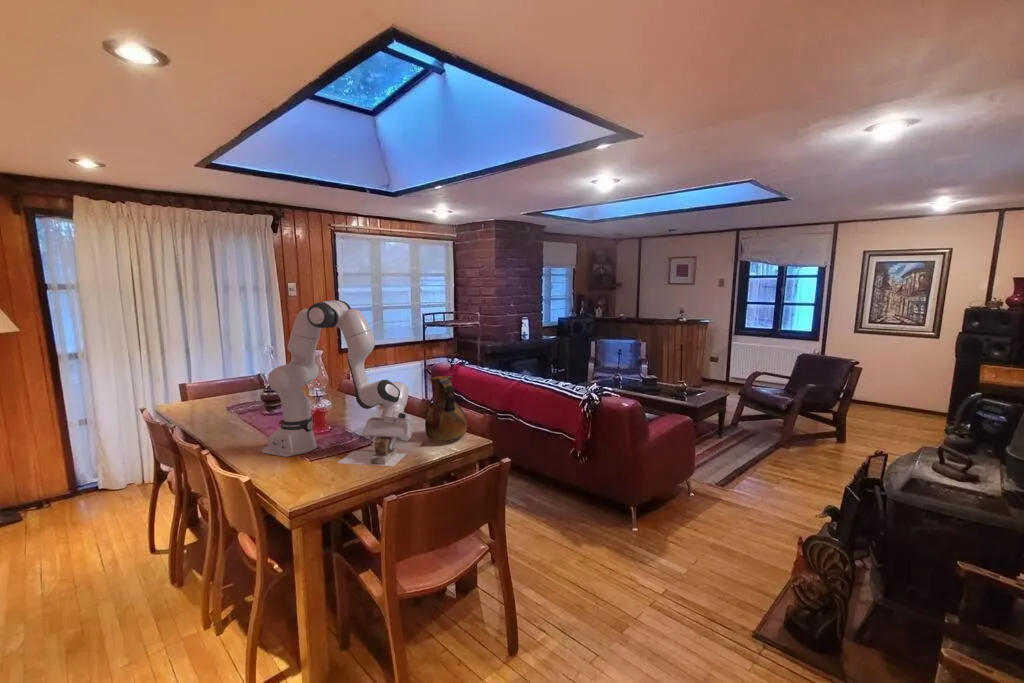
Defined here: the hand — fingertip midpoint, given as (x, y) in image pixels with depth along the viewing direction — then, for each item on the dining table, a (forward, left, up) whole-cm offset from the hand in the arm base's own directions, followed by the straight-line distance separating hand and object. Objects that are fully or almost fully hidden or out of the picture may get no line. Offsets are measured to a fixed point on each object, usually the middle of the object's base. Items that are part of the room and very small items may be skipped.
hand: (382, 448), depth 180 cm
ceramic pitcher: (+17, +32, -6) cm, 37 cm away
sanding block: (0, +1, -5) cm, 5 cm away
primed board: (-5, +1, -6) cm, 8 cm away
